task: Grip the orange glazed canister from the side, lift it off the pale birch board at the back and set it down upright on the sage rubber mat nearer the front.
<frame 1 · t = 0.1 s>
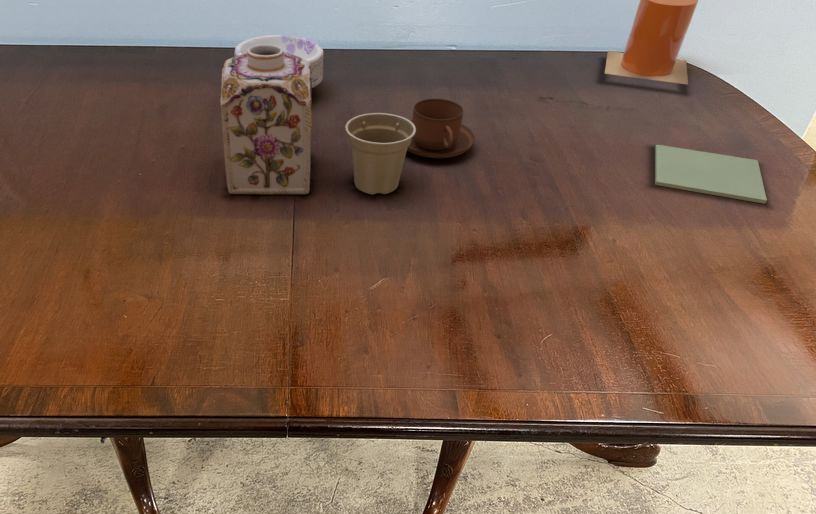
mat: (706, 174, 97), on the table
decorative jar: (271, 176, 97), on the table
canister: (646, 66, 123), point 1 cm above the table, touching board
board: (643, 74, 124), on the table
white floral bowl: (280, 94, 119), on the table
flower pot: (376, 185, 95), on the table
cup and saucer: (433, 148, 104), on the table
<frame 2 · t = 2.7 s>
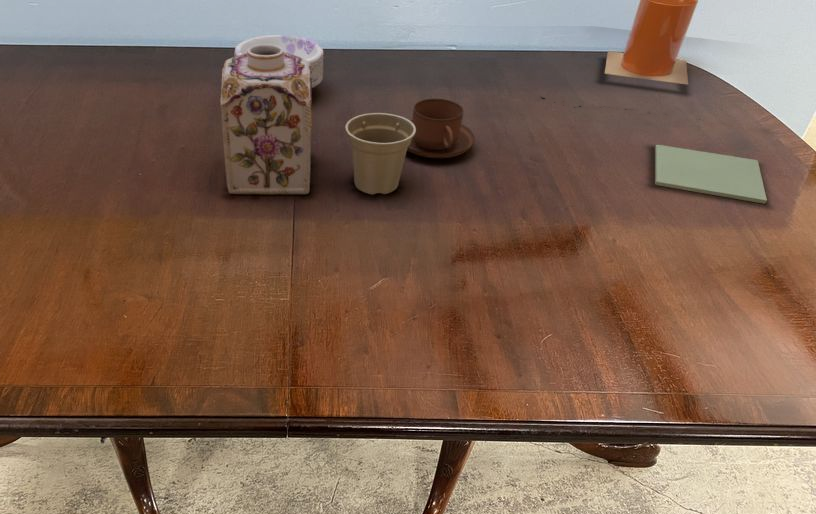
nothing on the table moved.
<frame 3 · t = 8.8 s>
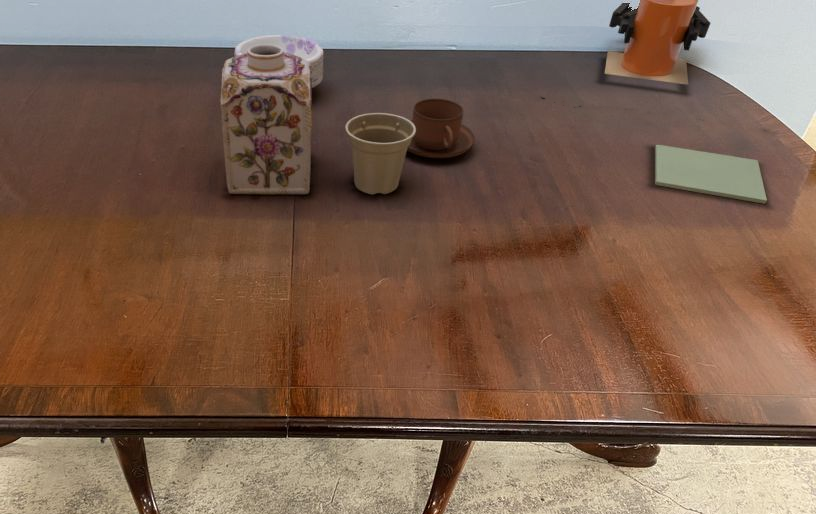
hand: (658, 38, 116), 8 cm above the table, tool horizontal, fingers closed on canister, 9 cm apart
canister: (646, 66, 123), point 2 cm above the table, touching board, gripper
everything else where it was.
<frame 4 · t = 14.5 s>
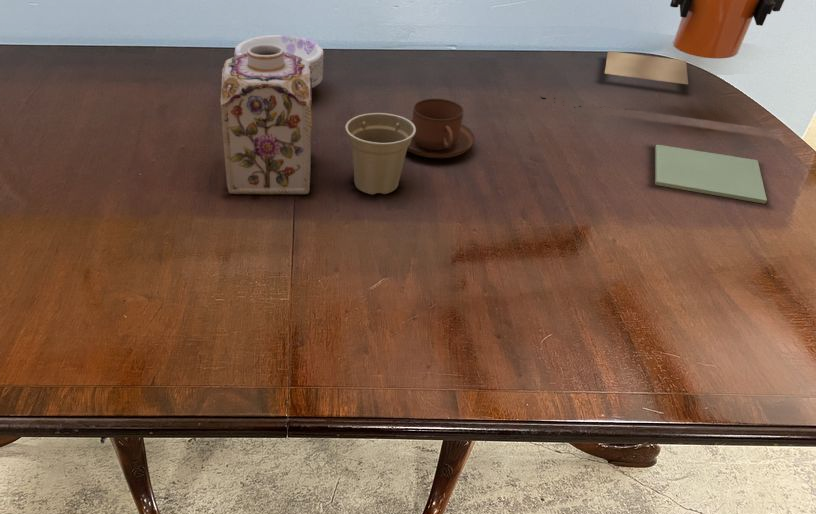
hand: (724, 11, 93), 19 cm above the table, tool horizontal, fingers closed on canister, 9 cm apart
canister: (704, 47, 101), point 12 cm above the table, touching gripper
everything else where it was.
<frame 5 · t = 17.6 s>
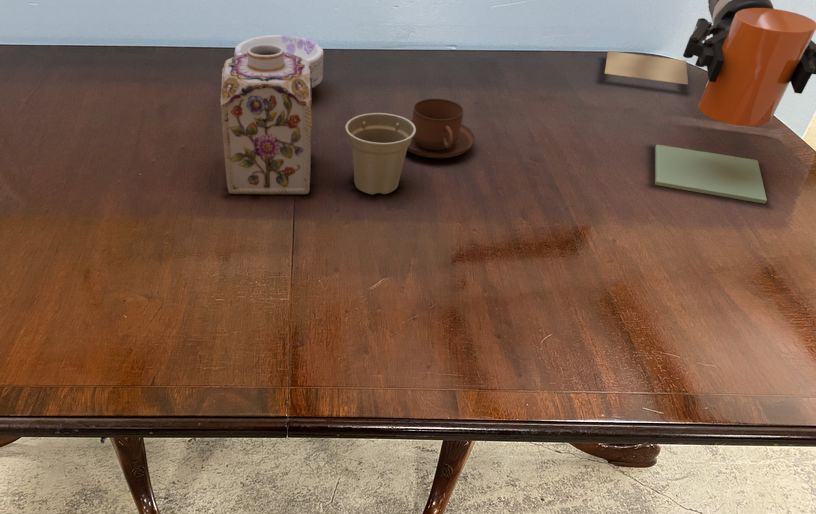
hand: (759, 76, 83), 16 cm above the table, tool horizontal, fingers closed on canister, 9 cm apart
canister: (733, 111, 91), point 9 cm above the table, touching gripper
everything else where it was.
when the fingers open (7 cm above the table, at t = 20.4 s): canister stays where it is, resting on mat.
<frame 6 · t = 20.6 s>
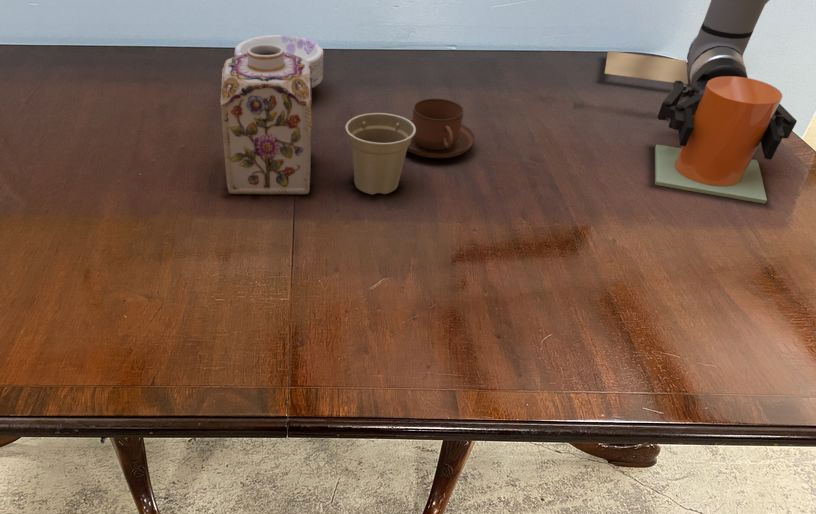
hand: (728, 143, 89), 7 cm above the table, tool horizontal, fingers open, 10 cm apart
canister: (707, 170, 97), point 1 cm above the table, touching mat
everything else where it was.
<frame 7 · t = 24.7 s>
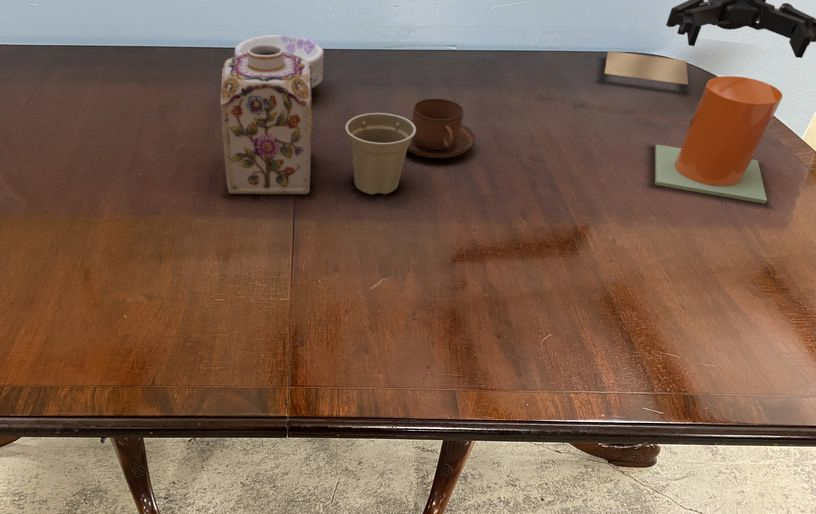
hand: (748, 41, 93), 16 cm above the table, tool horizontal, fingers open, 13 cm apart
nothing on the table moved.
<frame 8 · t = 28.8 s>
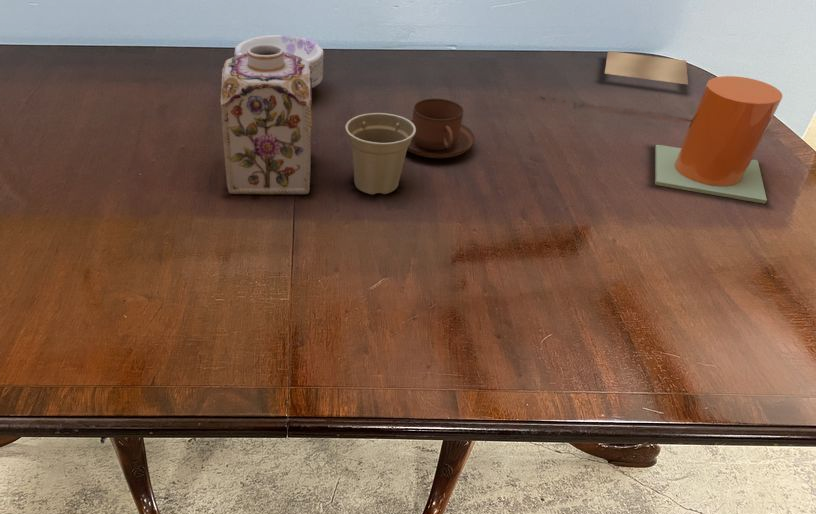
nothing on the table moved.
at the end: canister inside the target area on the mat (0.1 cm from its centre), point 0.6 cm above the mat's base; canister tilted 0°; the gripper is holding nothing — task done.
